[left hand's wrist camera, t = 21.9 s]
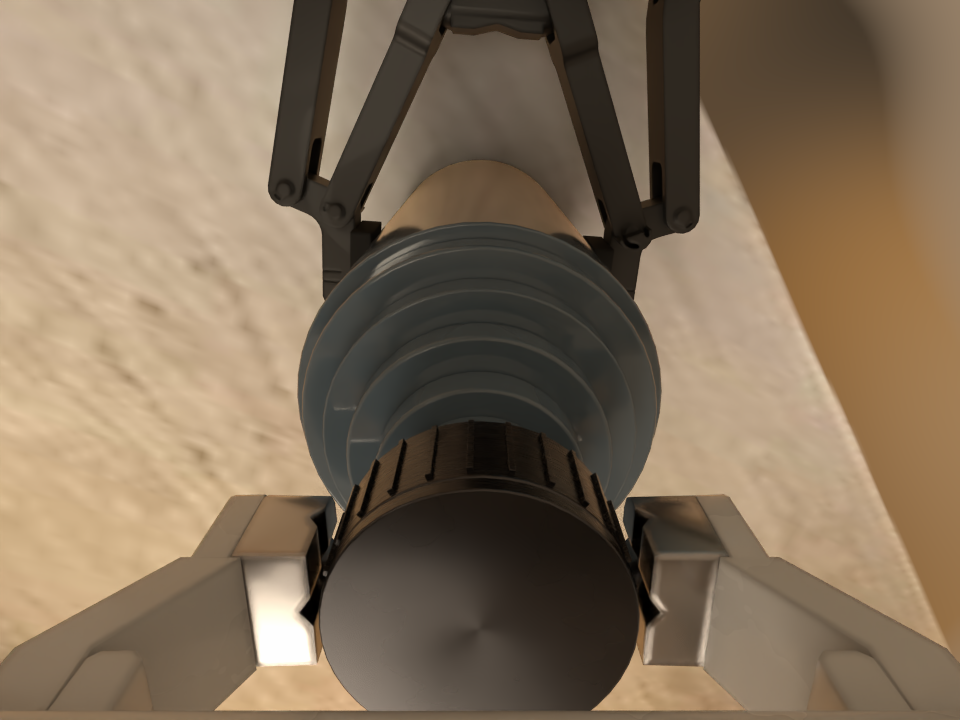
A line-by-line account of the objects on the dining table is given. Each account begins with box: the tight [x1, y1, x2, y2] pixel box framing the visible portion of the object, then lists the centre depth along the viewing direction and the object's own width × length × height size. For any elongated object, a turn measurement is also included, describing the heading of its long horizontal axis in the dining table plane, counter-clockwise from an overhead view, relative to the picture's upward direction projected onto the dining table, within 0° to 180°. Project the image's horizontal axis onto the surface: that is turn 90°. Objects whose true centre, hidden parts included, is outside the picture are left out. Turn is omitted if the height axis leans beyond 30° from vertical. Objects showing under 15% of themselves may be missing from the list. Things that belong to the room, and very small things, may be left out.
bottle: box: [298, 160, 662, 511], centre depth 21 cm, size 8×8×25 cm
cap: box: [319, 420, 640, 711], centre depth 9 cm, size 4×4×2 cm
